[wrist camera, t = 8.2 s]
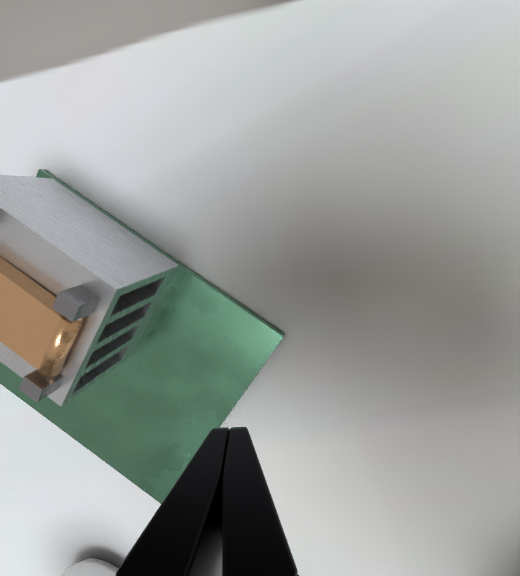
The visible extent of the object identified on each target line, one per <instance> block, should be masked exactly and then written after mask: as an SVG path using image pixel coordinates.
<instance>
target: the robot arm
mask: <svg viewBox="0 0 520 576" xmlns="http://www.w3.org/2000/svg"><path fill="white" fill-rule="evenodd" d="M116 576H299V575H298V572H297V568H296V565H295V562H294V559H293V556H292V554H291V551H290V548H289V545H288V542H287V539H286V537H285V534H284V531H283V528H282V525H281V522H280V520H279V517H278V514H277V511H276V508H275V505H274V502H273V500H272V497H271V494H270V491H269V488H268V485H267V483H266V480H265V477H264V474H263V471H262V468H261V466H260V463H259V460H258V457H257V454H256V451H255V448H254V446H253V443H252V440H251V437H250V434H249V431H248V429H247V428H246V427H232V428H231V429H230V430H229V428H213V429H212V430H211V431H210V432H209V434H208V435H207V437H206V438H205V440H204V441H203V443H202V444H201V446H200V447H199V449H198V450H197V452H196V453H195V455H194V456H193V458H192V459H191V461H190V462H189V464H188V465H187V467H186V468H185V470H184V471H183V473H182V474H181V476H180V477H179V479H178V480H177V482H176V483H175V485H174V486H173V488H172V489H171V491H170V492H169V494H168V495H167V497H166V498H165V500H164V501H163V503H162V504H161V506H160V507H159V509H158V510H157V512H156V513H155V515H154V516H153V518H152V519H151V521H150V522H149V524H148V525H147V527H146V528H145V530H144V531H143V533H142V534H141V536H140V537H139V539H138V540H137V542H136V543H135V545H134V546H133V547H132V549H131V550H130V552H129V553H128V555H127V556H126V558H125V559H124V561H123V562H122V564H121V565H120V567H119V568H118V570H117V571H116Z"/></svg>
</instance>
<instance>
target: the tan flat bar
mask: <svg viewBox="0 0 520 576" xmlns="http://www.w3.org/2000/svg"><path fill="white" fill-rule="evenodd" d="M55 300H56V297H55V296H53V295H52V294H51V293H49V292H48V291H47V290H45V289H44V288H43V287H41V286H40V285H38V284H37V283H36V282H34V281H33V280H32V279H30V278H29V277H28V276H26V275H25V274H23V273H22V272H21V271H19V270H18V269H17V268H15V267H14V266H12V265H11V264H10V263H8V262H7V261H6V260H4V259H3V258H2V257H0V342H1V343H3V344H4V345H5V346H7V347H8V348H9V349H11V350H12V351H13V352H15V353H16V354H17V355H19V356H20V357H21V358H23V359H24V360H25V361H26V362H28V363H29V364H30V365H32V366H33V367H34V368H36V369H37V370H38V371H39V372H40V373H41V374H42V375H44V376H48V377H52V376H56V375H58V374H59V373H60V371H61V369H62V367H63V364H64V362H65V360H66V358H67V356H68V353H69V351H70V349H71V347H72V345H73V342H74V340H75V338H76V336H77V334H78V331H79V329H80V327H81V325H82V323H83V320H84V319H83V318H80V319H78V320H76V321H74V322H71V321H70V320H69V319H67V318H66V317H64V316H63V315H62V314H60V313H59V312H57V311H56V310H55V309H53V308H52V307H53V305H54V302H55Z"/></svg>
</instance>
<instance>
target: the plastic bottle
mask: <svg viewBox="0 0 520 576" xmlns="http://www.w3.org/2000/svg"><path fill="white" fill-rule="evenodd" d="M117 570H118V568H117V567H115V566H114V565H112V564H110V563H108V562H106V561H103V560H100V559H94V558H91V559H85V560H82V561H80V562H78V563H75V564H73V565H72V566H70V567H68V568H67V569H66V570H65V571H64V572H63V573H62V574H61V575H60V576H116V571H117Z"/></svg>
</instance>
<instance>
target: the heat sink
mask: <svg viewBox="0 0 520 576" xmlns="http://www.w3.org/2000/svg"><path fill="white" fill-rule="evenodd" d="M0 257H2V258H3V259H4V260H6V261H7V262H8V263H10V264H11V265H12V266H14V267H15V268H17V269H18V270H19V271H21V272H22V273H23V274H25V275H26V276H28V277H29V278H30V279H32V280H33V281H34V282H36V283H37V284H38V285H40V286H41V287H43V288H44V289H45V290H47V291H48V292H49V293H51V294H52V295H53V296H55V297H56V300H55V302H54V305H53V307H52V308H53V309H55V310H56V311H57V312H59V313H60V314H62V315H63V316H64V317H66V318H67V319H69V320H70V321H71V322H74V321H76V320H78V319H80V318H83V319H84V320H83V323H82V325H81V327H80V329H79V331H78V334H77V336H76V338H75V340H74V342H73V345H72V347H71V349H70V351H69V353H68V356H67V358H66V360H65V362H64V364H63V367H62V369H61V371H60V373H59V374H58V375H56V376H52V377H48V376H44V375H42V374H41V373H40V372H39V371H38V370H37V369H36V368H34V367H33V366H32V365H30V364H29V363H28V362H26V361H25V360H24V359H23V358H21V357H20V356H19V355H17V354H16V353H15V352H13V351H12V350H11V349H9V348H8V347H7V346H5V345H4V344H3V343H1V342H0V384H2V385H3V386H4V387H6V388H7V389H8V390H10V391H11V392H12V393H14V394H15V395H16V396H18V397H19V398H20V399H22V400H23V401H24V402H26V403H27V404H28V405H30V406H31V407H32V408H34V409H35V410H36V411H38V412H39V413H40V414H42V415H43V416H44V417H46V418H47V419H48V420H50V421H51V422H52V423H54V424H55V425H56V426H58V427H59V428H60V429H62V430H63V431H64V432H66V433H67V434H68V435H70V436H71V437H72V438H74V439H75V440H77V441H78V442H79V443H81V444H82V445H83V446H85V447H86V448H87V449H89V450H90V451H91V452H93V453H94V454H95V455H97V456H98V457H99V458H101V459H102V460H103V461H105V462H106V463H107V464H109V465H110V466H111V467H113V468H114V469H115V470H117V471H118V472H119V473H121V474H122V475H123V476H125V477H126V478H127V479H129V480H130V481H131V482H133V483H134V484H135V485H137V486H138V487H139V488H141V489H142V490H143V491H145V492H146V493H147V494H149V495H150V496H151V497H153V498H154V499H156V500H157V501H158V502H160V503H161V504H162V503H163V501H164V500H165V498H166V497H167V495H168V494H169V492H170V491H171V489H172V488H173V486H174V485H175V483H176V482H177V480H178V479H179V477H180V476H181V474H182V473H183V471H184V470H185V468H186V467H187V465H188V464H189V462H190V461H191V459H192V458H193V456H194V455H195V453H196V452H197V450H198V449H199V447H200V446H201V444H202V443H203V441H204V440H205V438H206V437H207V435H208V434H209V432H210V431H211V430H212V429H213V428H219V427H220V425H221V424H222V423H223V421H224V420H225V418H226V417H227V416H228V414H229V413H230V411H231V410H232V409H233V407H234V406H235V404H236V403H237V401H238V400H239V399H240V397H241V396H242V394H243V393H244V392H245V390H246V389H247V387H248V386H249V385H250V383H251V382H252V380H253V379H254V378H255V376H256V375H257V373H258V372H259V371H260V369H261V368H262V366H263V365H264V364H265V362H266V361H267V359H268V358H269V357H270V355H271V354H272V352H273V351H274V350H275V348H276V347H277V345H278V344H279V342H280V341H281V340H282V338H283V337H284V335H285V334H284V333H282V332H281V331H279V330H278V329H276V328H275V327H273V326H272V325H271V324H269V323H268V322H266V321H265V320H263V319H262V318H260V317H259V316H257V315H256V314H254V313H253V312H252V311H250V310H249V309H247V308H246V307H244V306H243V305H241V304H240V303H238V302H237V301H235V300H234V299H233V298H231V297H230V296H228V295H227V294H225V293H224V292H222V291H221V290H219V289H218V288H216V287H215V286H214V285H212V284H211V283H209V282H208V281H206V280H205V279H203V278H202V277H200V276H199V275H198V274H196V273H195V272H193V271H192V270H190V269H189V268H187V267H186V266H184V265H183V264H181V263H180V262H179V261H177V260H176V259H174V258H173V257H171V256H170V255H168V254H167V253H165V252H164V251H162V250H161V249H160V248H158V247H157V246H155V245H154V244H152V243H151V242H149V241H148V240H146V239H145V238H144V237H142V236H141V235H139V234H138V233H136V232H135V231H133V230H132V229H130V228H129V227H127V226H126V225H125V224H123V223H122V222H120V221H119V220H117V219H116V218H114V217H113V216H111V215H110V214H108V213H107V212H106V211H104V210H103V209H101V208H100V207H98V206H97V205H95V204H94V203H92V202H91V201H89V200H88V199H87V198H85V197H84V196H82V195H81V194H79V193H78V192H76V191H75V190H73V189H72V188H71V187H69V186H68V185H66V184H65V183H63V182H62V181H60V180H59V179H57V178H56V177H54V176H53V175H52V174H50V173H49V172H47V171H46V170H42V169H39V170H38V173H37V176H36V177H24V176H10V175H0Z"/></svg>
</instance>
